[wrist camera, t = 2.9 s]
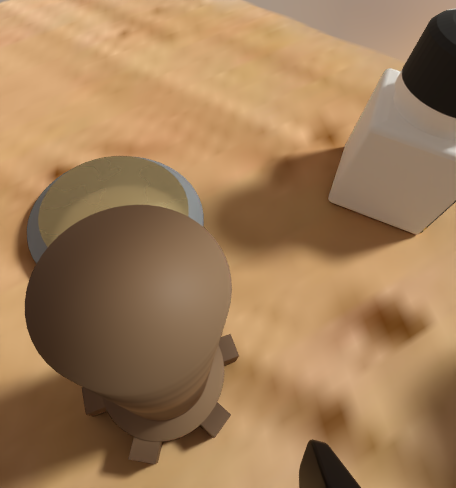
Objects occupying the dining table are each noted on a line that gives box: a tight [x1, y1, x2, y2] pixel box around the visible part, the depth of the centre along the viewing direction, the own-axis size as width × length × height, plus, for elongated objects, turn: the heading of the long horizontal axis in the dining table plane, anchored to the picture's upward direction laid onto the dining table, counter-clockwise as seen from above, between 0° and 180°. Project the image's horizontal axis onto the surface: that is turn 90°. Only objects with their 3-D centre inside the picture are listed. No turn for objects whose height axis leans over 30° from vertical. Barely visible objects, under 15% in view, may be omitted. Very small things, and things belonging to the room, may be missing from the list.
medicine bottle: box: [328, 9, 456, 235], centre depth 21 cm, size 7×7×12 cm
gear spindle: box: [25, 205, 239, 464], centre depth 12 cm, size 8×7×12 cm
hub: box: [38, 156, 189, 247], centre depth 21 cm, size 9×9×1 cm
